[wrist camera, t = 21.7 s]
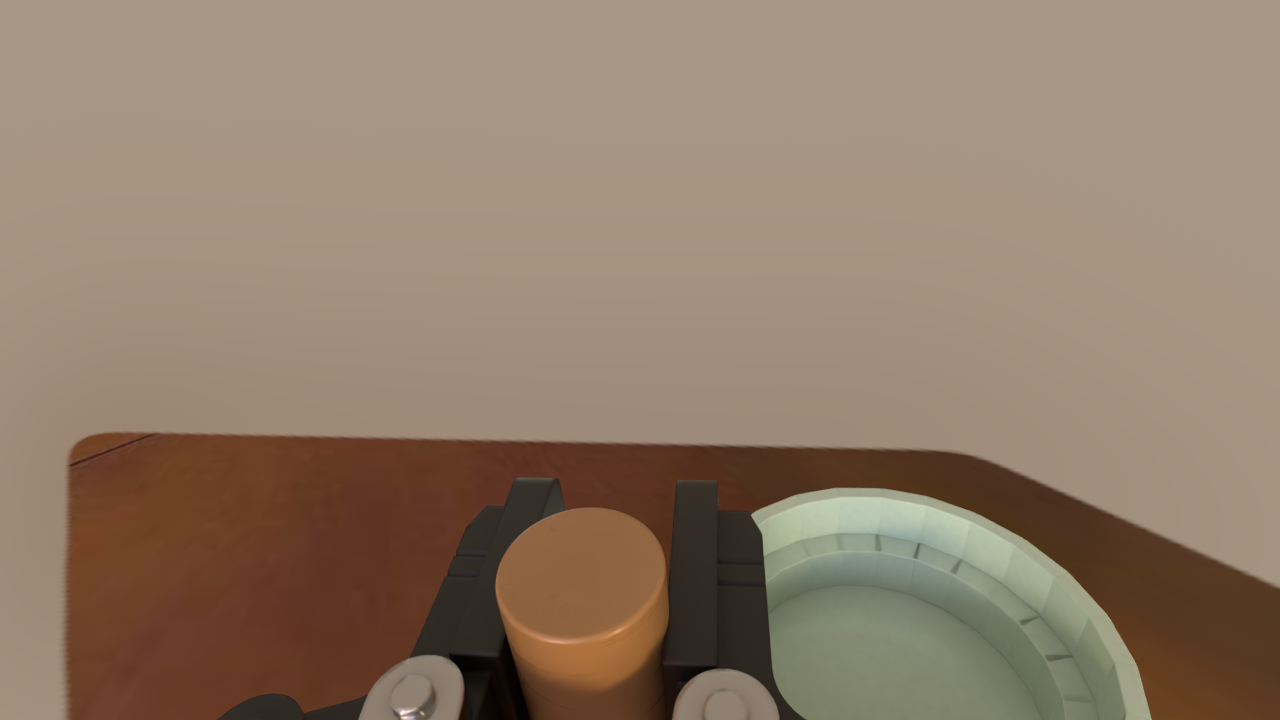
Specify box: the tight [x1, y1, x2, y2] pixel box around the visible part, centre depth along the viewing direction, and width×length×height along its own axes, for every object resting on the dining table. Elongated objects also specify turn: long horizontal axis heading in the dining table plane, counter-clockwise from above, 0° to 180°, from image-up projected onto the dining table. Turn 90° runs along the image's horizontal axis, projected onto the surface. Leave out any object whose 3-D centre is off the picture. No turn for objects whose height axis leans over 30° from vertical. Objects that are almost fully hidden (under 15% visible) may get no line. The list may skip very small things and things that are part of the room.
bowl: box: [751, 488, 1152, 720], centre depth 30 cm, size 18×18×6 cm
